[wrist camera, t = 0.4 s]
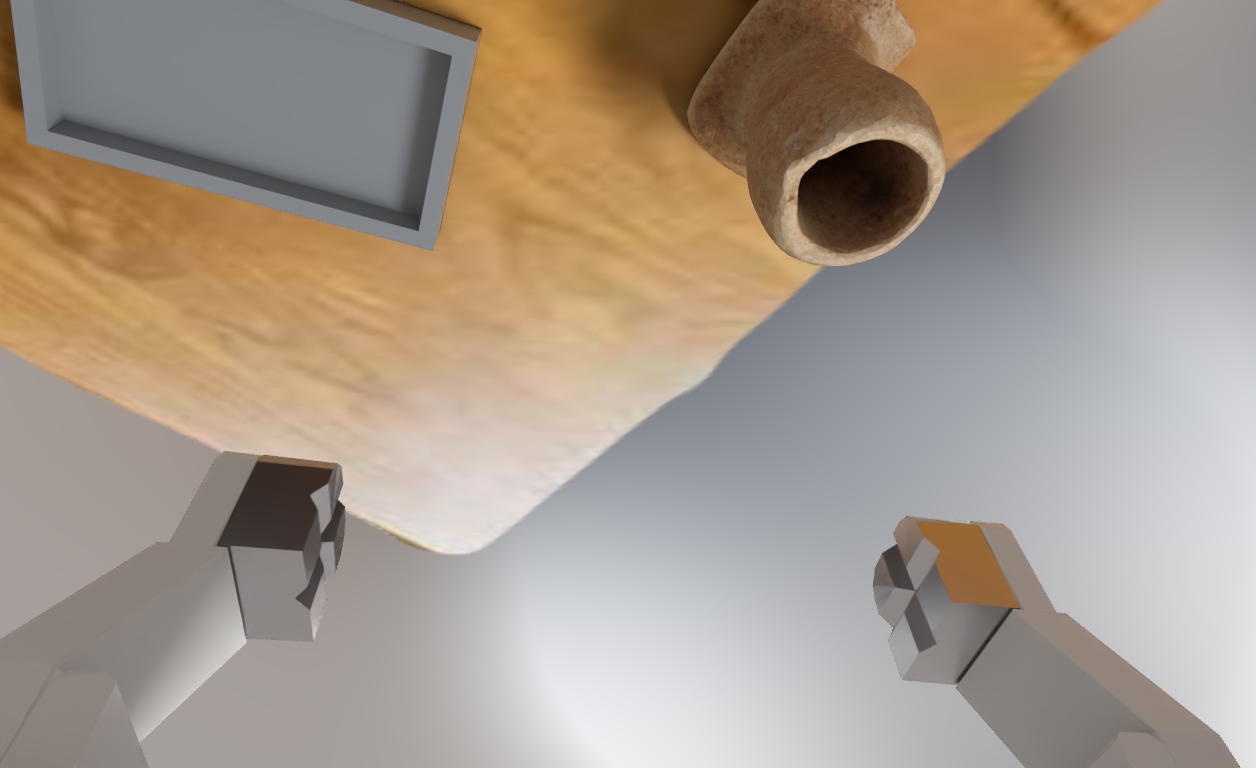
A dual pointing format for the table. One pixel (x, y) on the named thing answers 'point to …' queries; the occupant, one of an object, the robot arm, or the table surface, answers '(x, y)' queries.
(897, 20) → the stone cup
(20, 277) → the table surface
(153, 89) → the utensil tray
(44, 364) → the table surface
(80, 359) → the table surface
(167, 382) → the table surface
